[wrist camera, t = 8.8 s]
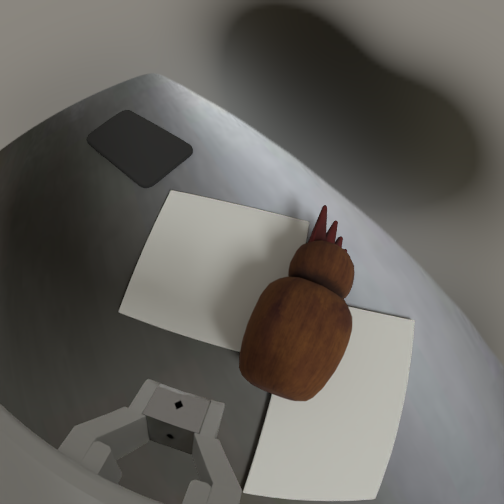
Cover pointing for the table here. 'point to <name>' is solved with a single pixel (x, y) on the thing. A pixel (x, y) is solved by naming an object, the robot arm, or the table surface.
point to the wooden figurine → (301, 320)
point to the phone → (139, 147)
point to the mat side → (209, 267)
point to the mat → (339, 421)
